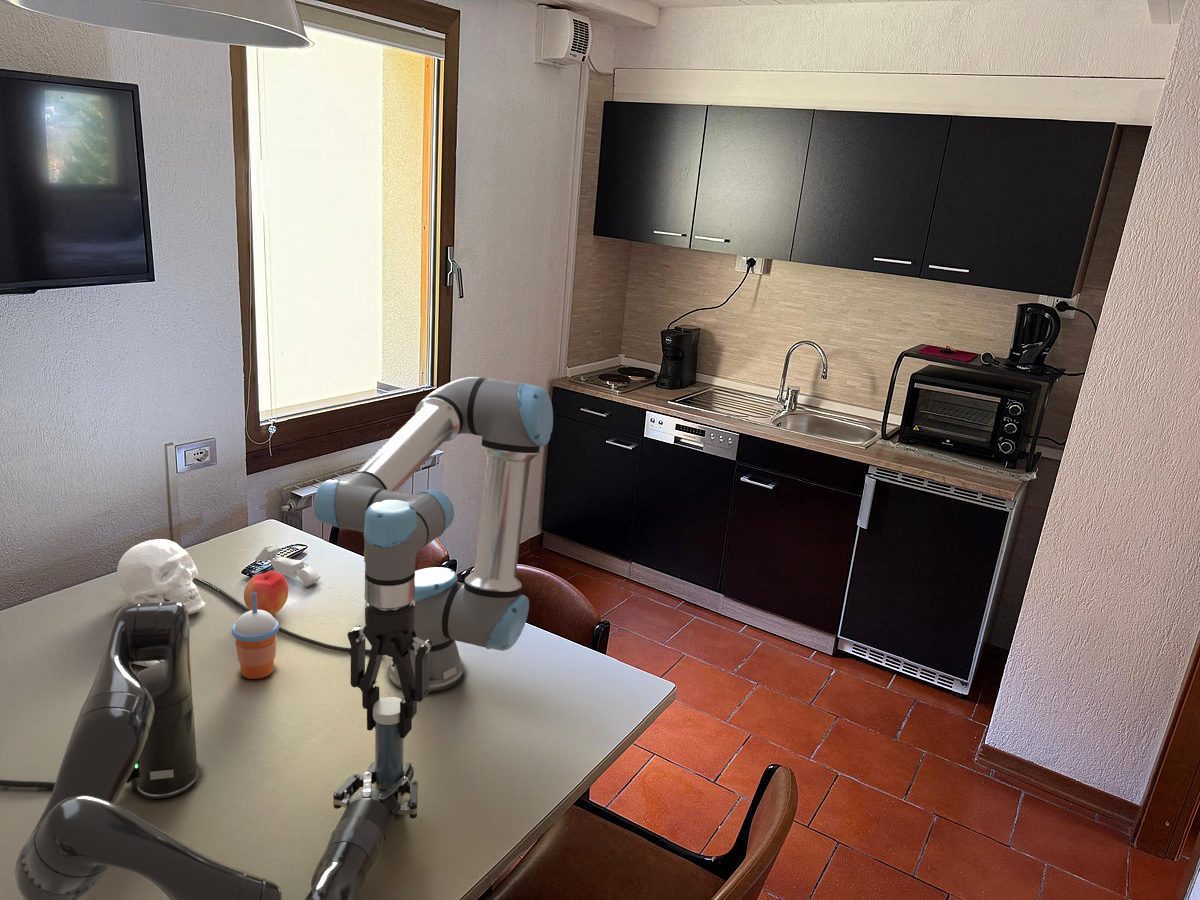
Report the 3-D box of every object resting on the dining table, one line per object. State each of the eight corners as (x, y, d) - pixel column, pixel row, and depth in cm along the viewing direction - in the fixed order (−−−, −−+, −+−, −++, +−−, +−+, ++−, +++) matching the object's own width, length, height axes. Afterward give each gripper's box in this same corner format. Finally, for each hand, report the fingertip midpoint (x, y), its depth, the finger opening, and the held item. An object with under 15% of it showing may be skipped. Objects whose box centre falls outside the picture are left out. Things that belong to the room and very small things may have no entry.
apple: (273, 600, 207) (272, 562, 204) (297, 613, 202) (296, 575, 199) (237, 614, 200) (234, 575, 197) (261, 628, 194) (259, 588, 191)
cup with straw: (265, 686, 173) (261, 607, 168) (224, 678, 175) (219, 599, 169) (289, 663, 182) (286, 587, 176) (250, 656, 183) (246, 580, 178)
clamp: (253, 565, 223) (254, 542, 221) (265, 560, 226) (266, 537, 224) (309, 593, 215) (310, 569, 213) (320, 588, 218) (321, 564, 216)
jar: (408, 809, 143) (409, 709, 138) (386, 822, 140) (386, 721, 134) (391, 796, 146) (392, 697, 140) (369, 809, 143) (369, 708, 137)
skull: (183, 627, 192) (180, 562, 188) (105, 607, 198) (100, 543, 194) (224, 603, 205) (222, 542, 200) (149, 585, 210) (146, 525, 206)
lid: (387, 702, 141) (387, 693, 140) (412, 713, 139) (412, 703, 138) (365, 718, 137) (365, 708, 136) (391, 729, 134) (391, 719, 134)
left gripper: (312, 853, 129) (353, 778, 145) (404, 865, 128) (435, 789, 144) (311, 811, 127) (353, 741, 143) (405, 824, 126) (436, 751, 142)
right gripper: (454, 600, 133) (450, 728, 140) (349, 579, 137) (351, 705, 144) (433, 622, 126) (430, 755, 133) (324, 600, 130) (326, 730, 137)
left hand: (394, 765), depth 144 cm, fingers closed on jar, 4 cm apart
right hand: (389, 729), depth 138 cm, fingers closed on lid, 5 cm apart
